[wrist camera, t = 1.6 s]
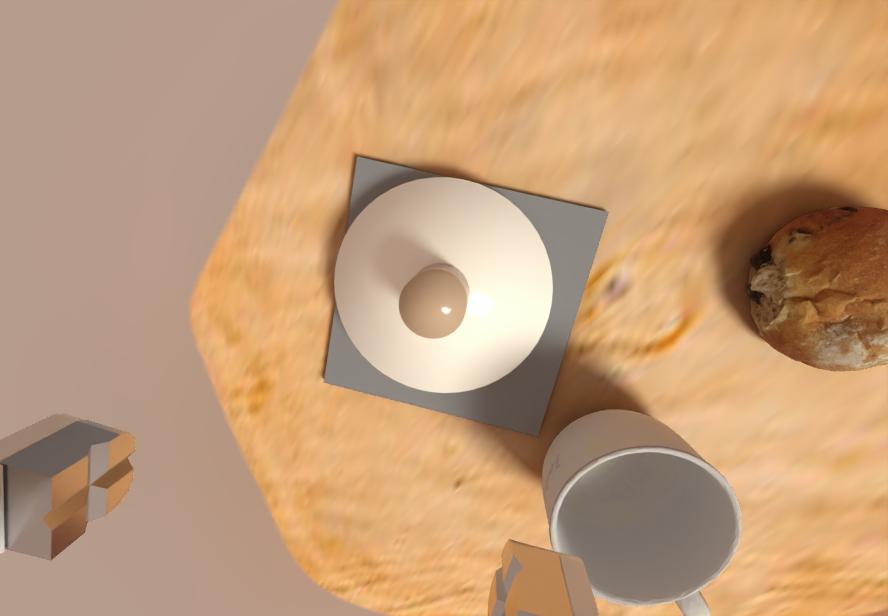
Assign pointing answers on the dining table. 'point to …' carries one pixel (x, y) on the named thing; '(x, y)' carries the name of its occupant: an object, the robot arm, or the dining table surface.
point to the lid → (443, 285)
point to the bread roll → (825, 289)
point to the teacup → (639, 510)
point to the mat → (531, 383)
